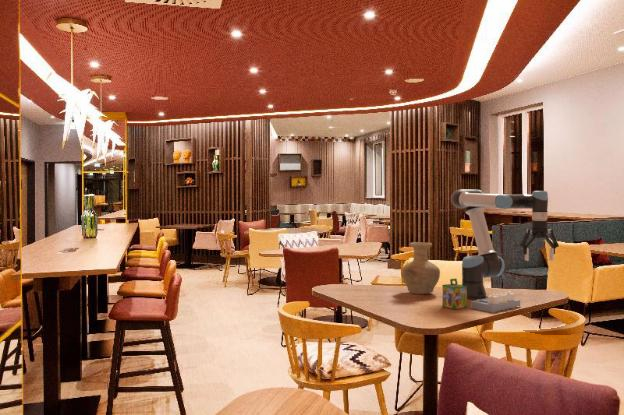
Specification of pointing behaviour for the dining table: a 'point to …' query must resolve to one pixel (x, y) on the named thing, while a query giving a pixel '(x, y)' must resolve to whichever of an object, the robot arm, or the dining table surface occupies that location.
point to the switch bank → (492, 308)
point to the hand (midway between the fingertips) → (538, 260)
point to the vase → (420, 271)
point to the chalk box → (454, 295)
